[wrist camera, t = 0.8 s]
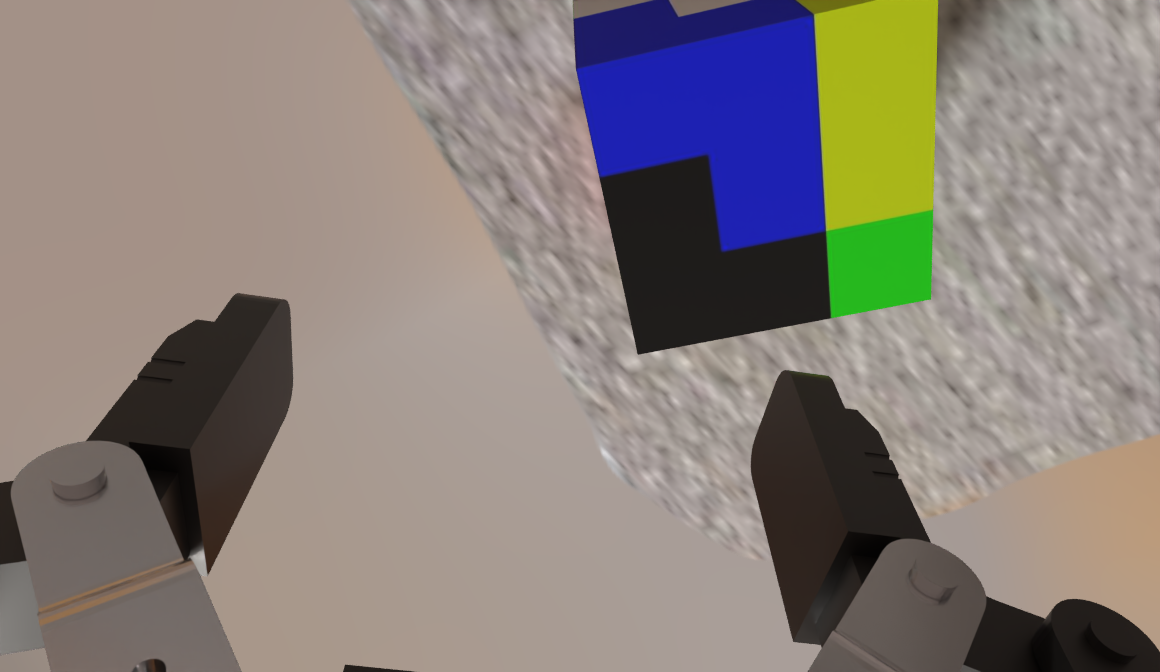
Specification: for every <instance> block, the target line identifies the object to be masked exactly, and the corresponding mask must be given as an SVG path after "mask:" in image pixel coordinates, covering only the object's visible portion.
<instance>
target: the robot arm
mask: <svg viewBox="0 0 1160 672" xmlns="http://www.w3.org/2000/svg"><path fill="white" fill-rule="evenodd" d="M151 359H152V360H151V362H148V363H147V364H146V365H145V366H144V368H143V369H142V370H141V372H140V373H139V374H138V378H137V380H133V382H132V383H131V384H130V386H129V387H128V388H127V389H126V391H125V392H124V393H123V394H122V396H121V397H120V398H119V400H118V401H117V402H116V403H115V405H114V406H113V407H112V409H111V410H110V411H109V412H108V413H107V415H106V416H105V417H104V419H103V420H102V421H101V422H100V424H99V425H98V426H97V427H96V429H95V430H94V431H93V433H92V434H91V435H90V436H89V438H88V439H87V440H86V441H85V442H77V443H73V444H68V445H65V446H61V447H58V448H56V449H53V450H51V451H49V452H46V453H44V454H42V455H41V456H39V457H37V458H36V459H34V460H33V461H31V462H30V463H29V464H27V465H26V466H25V467H24V468H23V469H22V470H21V471H20V472H19V474H18V475H17V476H16V478H15V480H14V481H10V482H3V483H0V655H5V654H10V653H17V652H22V651H28V650H34V649H39V648H45V649H46V653H47V658H48V662H49V666H50V670H51V672H242V671H241V669H240V667H239V664H238V662H237V660H236V657H235V655H234V653H233V650H232V648H231V646H230V643H229V641H228V639H227V636H226V634H225V632H224V630H223V627H222V625H221V623H220V620H219V618H218V616H217V613H216V611H215V609H214V606H213V604H212V602H211V599H210V597H209V595H208V592H207V590H206V588H205V585H204V583H203V581H202V579H201V576H208V574H209V572H210V570H211V568H212V566H213V564H214V562H215V559H216V558H217V556H218V554H219V552H220V550H221V548H222V546H223V544H224V542H225V540H226V537H227V535H228V533H229V531H230V529H231V527H232V525H233V523H234V521H235V519H236V517H237V515H238V513H239V511H240V509H241V507H242V505H243V503H244V501H245V499H246V497H247V495H248V493H249V490H250V489H251V486H252V484H253V482H254V480H255V478H256V476H257V474H258V472H259V470H260V468H261V466H262V464H263V462H264V460H265V458H266V456H267V454H268V452H269V450H270V448H271V446H272V444H273V442H274V439H275V437H276V435H277V433H278V431H279V429H280V427H281V425H282V423H283V421H284V419H285V417H286V414H287V411H288V408H289V405H290V401H291V395H292V388H293V365H292V341H291V317H290V307H289V304H288V302H287V301H286V300H284V299H276V298H269V297H262V296H255V295H247V294H240V293H237V294H235V295H234V296H233V297H232V298H231V300H230V301H229V302H228V304H227V305H226V307H225V308H224V310H223V311H222V312H221V314H220V315H219V316H218V318H217V319H216V321H215V322H211V321H204V320H195V321H193V322H192V323H190V324H188V325H187V326H185V327H184V328H181V329H180V330H178V331H177V332H175V333H173V334H171V335H170V336H168V337H167V338H166V340H165V341H164V342H163V344H162V345H161V346H160V347H159V349H158V350H157V351H156V352H155V354H154V355H153V356H152V358H151ZM889 456H890V455H889V453H888V451H887V448H886V446H885V444H884V442H883V440H882V438H881V436H880V434H879V432H878V431H877V430H876V429H875V428H874V427H873V426H872V425H871V424H870V423H869V422H868V421H867V420H866V419H865V418H864V417H863V416H862V415H861V414H860V413H859V411H858V410H853V409H846V408H845V407H844V405H843V403H842V400H841V398H840V396H839V393H838V391H837V389H836V387H835V384H834V382H833V380H832V379H831V378H830V377H829V376H824V375H817V374H810V373H802V372H795V371H788V370H784V371H783V372H781V374H780V375H779V377H778V378H777V381H776V383H775V386H774V389H773V391H772V394H771V397H770V399H769V402H768V405H767V407H766V410H765V413H764V416H763V418H762V421H761V424H760V426H759V429H758V432H757V434H756V437H755V440H754V444H753V448H752V455H751V475H752V480H753V484H754V488H755V492H756V496H757V500H758V504H759V508H760V511H761V515H762V519H763V523H764V527H765V531H766V535H767V539H768V543H769V547H770V551H771V555H772V559H773V563H774V567H775V571H776V575H777V579H778V583H779V587H780V590H781V595H782V599H783V603H784V607H785V611H786V615H787V619H788V623H789V627H790V631H791V635H792V638H793V642H799V643H809V644H818V645H821V647H822V649H821V650H820V652H819V654H818V656H817V657H816V659H815V660H814V662H813V664H812V665H811V667H810V669H809V670H808V672H1160V652H1159V650H1158V649H1157V647H1156V646H1155V644H1154V643H1153V642H1152V641H1151V640H1150V639H1149V638H1148V636H1147V635H1146V634H1144V633H1143V632H1142V631H1141V630H1140V629H1139V628H1138V627H1137V626H1135V625H1134V624H1133V623H1132V622H1130V621H1129V620H1127V619H1126V618H1125V617H1123V616H1122V615H1120V614H1118V613H1116V612H1115V611H1113V610H1111V609H1109V608H1107V607H1105V606H1102V605H1100V604H1097V603H1094V602H1091V601H1086V600H1080V599H1067V600H1064V601H1061V602H1060V603H1058V604H1057V605H1056V606H1055V607H1054V608H1053V609H1052V611H1051V612H1050V613H1049V615H1048V616H1047V617H1046V619H1044V618H1042V617H1039V616H1036V615H1033V614H1031V613H1028V612H1025V611H1023V610H1020V609H1017V608H1015V607H1012V606H1009V605H1007V604H1004V603H1001V602H999V601H996V600H993V599H991V598H989V597H987V596H986V594H985V591H984V588H983V586H982V584H981V582H980V580H979V579H978V577H977V576H976V575H975V574H974V572H973V571H972V570H971V569H970V568H969V567H968V566H967V565H966V564H965V563H964V562H963V561H962V560H960V559H959V558H958V557H956V556H955V555H953V554H952V553H950V552H949V551H947V550H945V549H943V548H941V547H940V546H937V545H935V544H932V543H931V542H930V539H929V537H928V535H927V533H926V531H925V529H924V527H923V525H922V523H921V520H920V518H919V516H918V514H917V512H916V510H915V508H914V506H913V503H912V501H911V499H910V497H909V495H908V493H907V491H906V489H905V487H904V484H903V482H902V480H901V479H898V475H899V474H898V472H897V470H896V468H895V465H894V463H893V461H892V460H889ZM200 575H201V576H200ZM343 672H412V671H403V670H393V669H382V668H373V667H363V666H353V665H345V667H344V671H343Z"/></svg>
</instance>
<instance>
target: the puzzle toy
mask: <svg viewBox="0 0 1160 672" xmlns="http://www.w3.org/2000/svg"><path fill="white" fill-rule="evenodd" d="M573 19H574V40H575V60H576V71H577V76H578V81H579V85H580V90H581V94H582V99H583V104H584V108H585V113H586V118H587V122H588V127H589V131H590V136H591V141H592V145H593V150H594V154H595V159H596V164H597V168H598V173H599V178H600V182H601V187H602V191H603V196H604V201H605V205H606V210H607V215H608V219H609V224H610V228H611V233H612V238H613V242H614V247H615V251H616V256H617V261H618V265H619V270H620V275H621V279H622V284H623V288H624V293H625V298H626V302H627V307H628V312H629V316H630V321H631V325H632V330H633V335H634V339H635V344H636V348H637V353H638V354H644V353H649V352H654V351H660V350H665V349H670V348H676V347H681V346H686V345H691V344H697V343H702V342H707V341H713V340H718V339H723V338H729V337H734V336H739V335H744V334H750V333H755V332H760V331H766V330H771V329H776V328H782V327H787V326H792V325H797V324H803V323H808V322H813V321H819V320H824V319H829V318H835V317H840V316H845V315H850V314H856V313H861V312H866V311H872V310H877V309H882V308H887V307H893V306H898V305H903V304H909V303H914V302H919V301H925V300H930V299H931V276H932V234H933V193H934V151H935V109H936V67H937V25H938V0H576V1H573Z"/></svg>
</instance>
